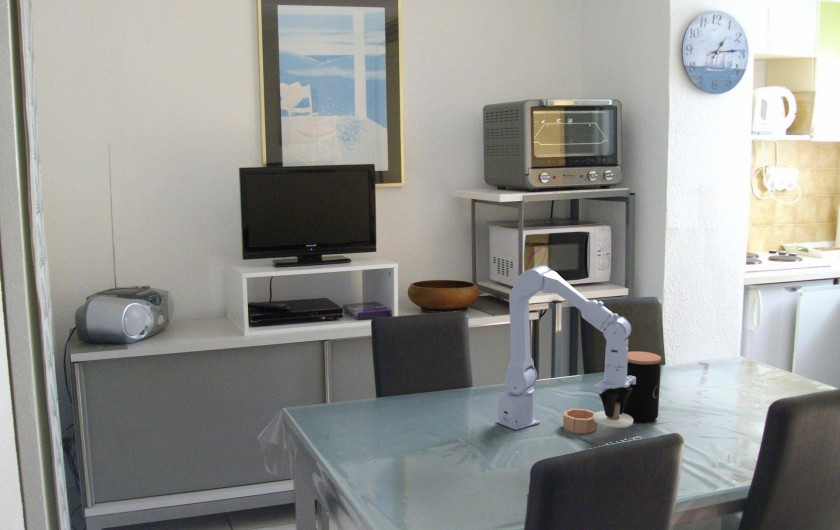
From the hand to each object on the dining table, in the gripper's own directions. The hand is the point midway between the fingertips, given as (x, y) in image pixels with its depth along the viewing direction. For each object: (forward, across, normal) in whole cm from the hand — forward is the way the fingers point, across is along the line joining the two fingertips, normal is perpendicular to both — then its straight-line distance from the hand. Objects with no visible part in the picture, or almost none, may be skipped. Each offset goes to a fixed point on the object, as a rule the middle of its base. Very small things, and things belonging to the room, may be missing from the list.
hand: (613, 414), depth 223 cm
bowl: (+6, -1, +10) cm, 12 cm away
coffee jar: (+7, +19, +6) cm, 21 cm away
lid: (+2, 0, 0) cm, 2 cm away
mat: (+7, 0, 0) cm, 7 cm away
